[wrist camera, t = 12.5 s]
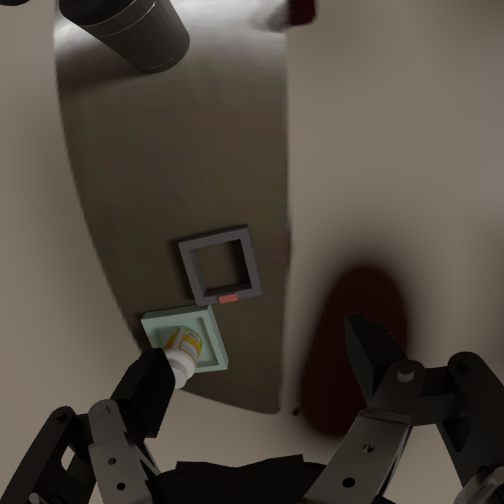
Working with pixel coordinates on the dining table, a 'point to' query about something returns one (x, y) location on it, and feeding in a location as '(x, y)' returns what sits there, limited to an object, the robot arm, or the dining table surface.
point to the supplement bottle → (183, 353)
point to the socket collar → (223, 293)
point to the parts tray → (196, 318)
